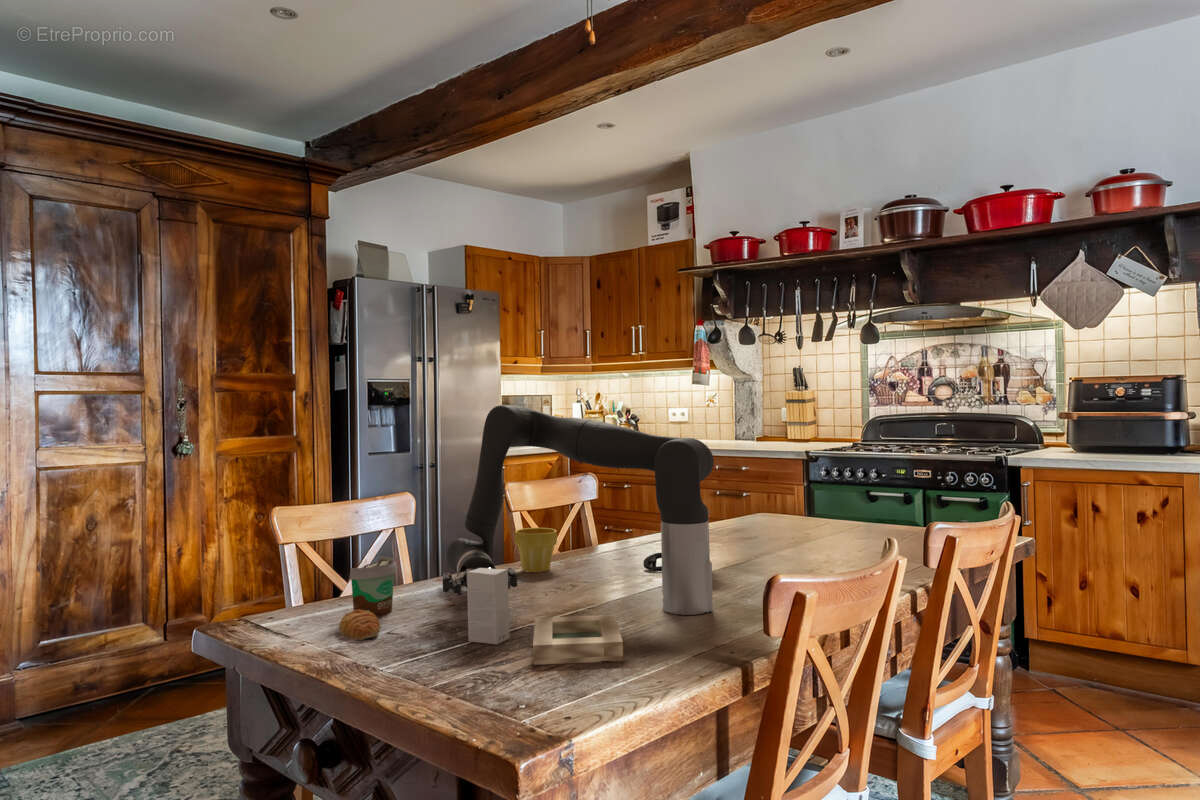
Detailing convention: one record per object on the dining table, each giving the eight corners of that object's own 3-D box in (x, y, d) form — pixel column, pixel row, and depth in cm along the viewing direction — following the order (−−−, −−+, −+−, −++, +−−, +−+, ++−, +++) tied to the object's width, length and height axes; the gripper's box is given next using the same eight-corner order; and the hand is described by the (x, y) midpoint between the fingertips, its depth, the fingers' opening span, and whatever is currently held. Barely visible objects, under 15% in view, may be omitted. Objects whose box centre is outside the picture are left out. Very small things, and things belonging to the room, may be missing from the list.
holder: (615, 631, 138) (614, 614, 138) (623, 661, 122) (622, 641, 122) (535, 634, 137) (535, 617, 137) (533, 664, 121) (532, 645, 121)
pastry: (389, 637, 138) (388, 616, 138) (350, 645, 134) (350, 623, 134) (372, 626, 146) (371, 605, 146) (335, 633, 142) (335, 612, 142)
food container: (380, 622, 147) (379, 569, 148) (350, 621, 149) (349, 568, 149) (408, 605, 160) (407, 556, 160) (381, 604, 161) (380, 556, 161)
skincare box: (510, 638, 135) (509, 569, 135) (497, 645, 131) (495, 574, 131) (481, 634, 138) (479, 567, 138) (467, 641, 134) (465, 571, 134)
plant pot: (561, 566, 196) (561, 527, 196) (552, 575, 186) (551, 534, 186) (521, 565, 198) (521, 527, 198) (510, 574, 188) (509, 533, 188)
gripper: (440, 554, 159) (443, 570, 143) (510, 550, 162) (520, 565, 147) (441, 591, 159) (444, 611, 143) (510, 586, 162) (521, 605, 147)
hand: (482, 588), depth 145 cm, fingers open, 8 cm apart
